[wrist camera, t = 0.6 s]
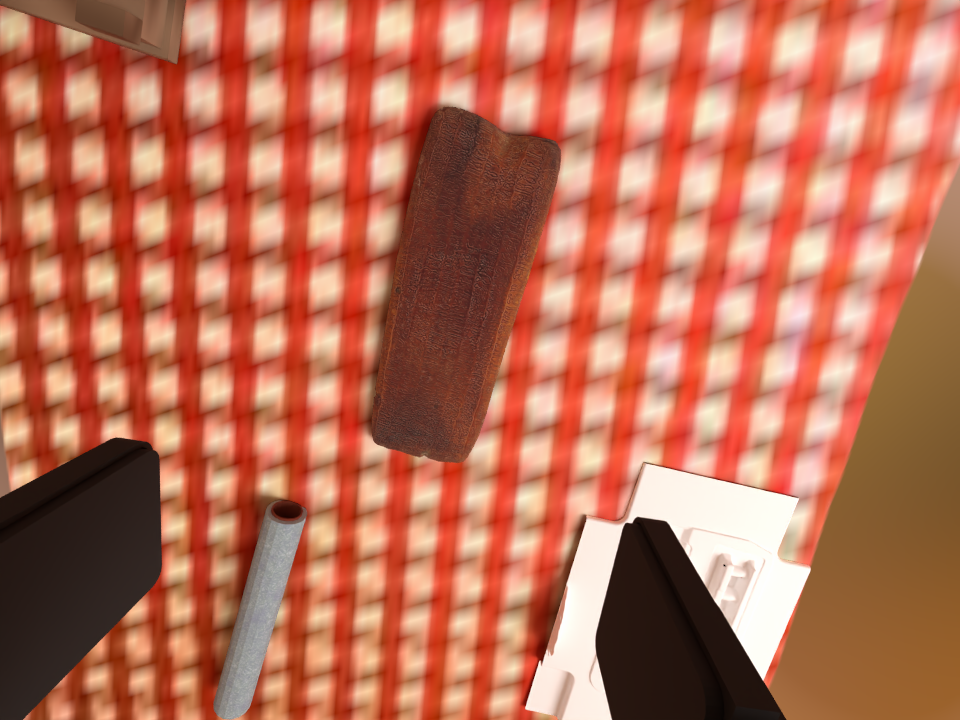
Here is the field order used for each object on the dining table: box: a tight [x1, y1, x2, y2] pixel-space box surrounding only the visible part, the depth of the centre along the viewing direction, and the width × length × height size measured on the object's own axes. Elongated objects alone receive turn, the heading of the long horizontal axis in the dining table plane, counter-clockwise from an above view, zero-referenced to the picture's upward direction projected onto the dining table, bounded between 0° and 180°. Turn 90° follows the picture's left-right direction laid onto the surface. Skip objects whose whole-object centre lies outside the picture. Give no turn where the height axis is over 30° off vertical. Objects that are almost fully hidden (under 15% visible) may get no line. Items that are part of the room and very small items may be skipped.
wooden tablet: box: [372, 107, 561, 463], centre depth 37 cm, size 27×10×2 cm, turn 164°
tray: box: [525, 463, 811, 720], centre depth 43 cm, size 20×28×4 cm
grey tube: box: [214, 500, 307, 719], centre depth 44 cm, size 23×7×3 cm, turn 160°
